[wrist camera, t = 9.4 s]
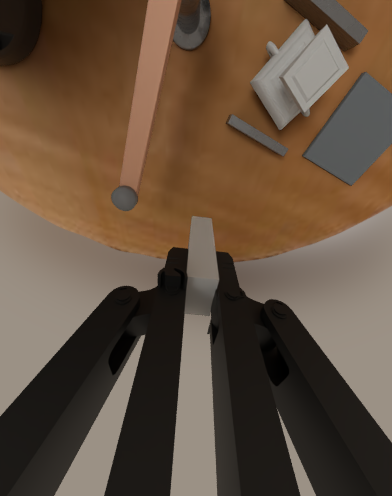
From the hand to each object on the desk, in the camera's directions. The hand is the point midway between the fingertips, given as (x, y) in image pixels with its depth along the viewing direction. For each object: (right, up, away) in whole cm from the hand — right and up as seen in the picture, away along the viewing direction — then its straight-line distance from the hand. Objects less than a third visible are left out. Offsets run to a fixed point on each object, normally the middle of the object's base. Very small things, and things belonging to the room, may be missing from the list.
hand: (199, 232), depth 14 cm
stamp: (+11, +19, +9) cm, 24 cm away
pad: (+22, +15, +11) cm, 29 cm away
